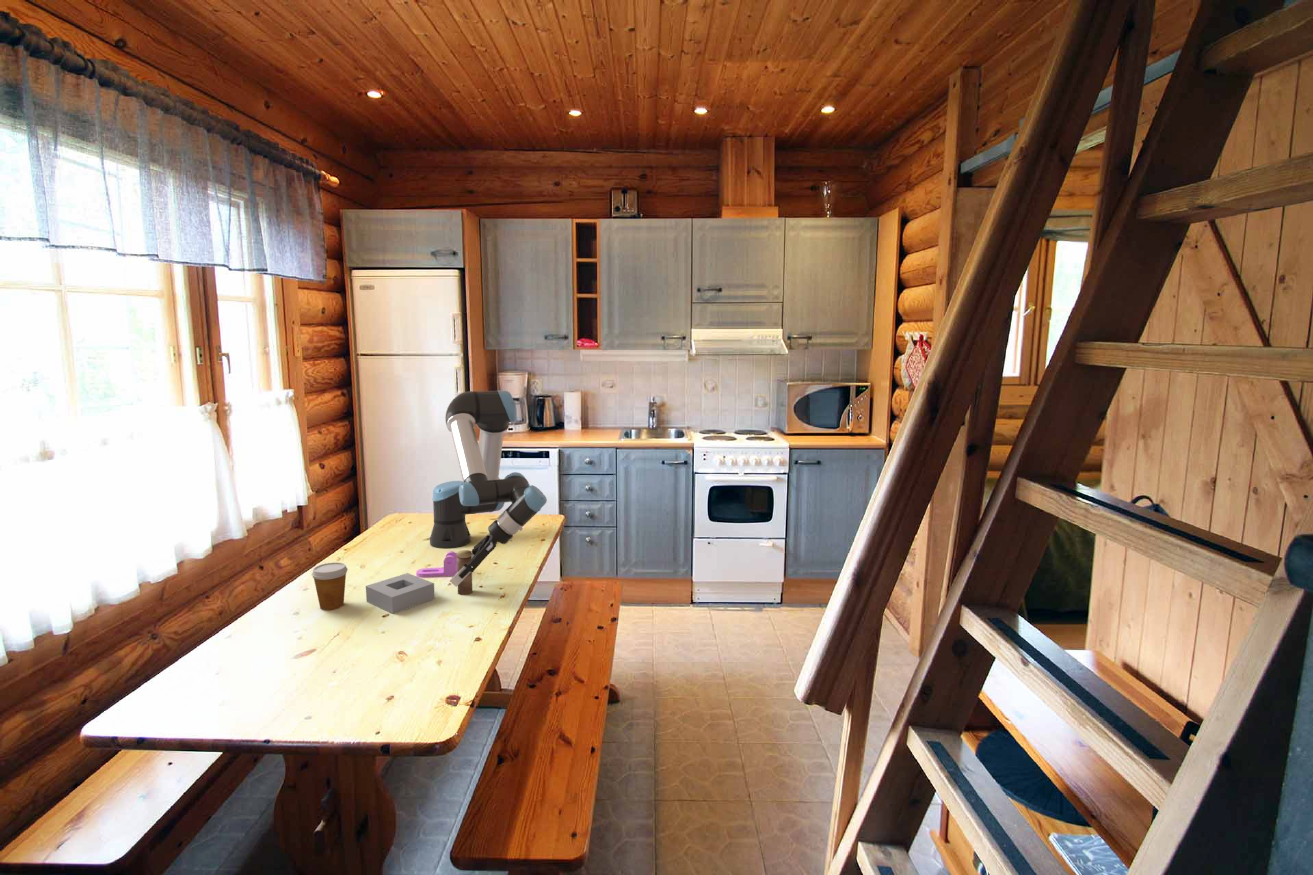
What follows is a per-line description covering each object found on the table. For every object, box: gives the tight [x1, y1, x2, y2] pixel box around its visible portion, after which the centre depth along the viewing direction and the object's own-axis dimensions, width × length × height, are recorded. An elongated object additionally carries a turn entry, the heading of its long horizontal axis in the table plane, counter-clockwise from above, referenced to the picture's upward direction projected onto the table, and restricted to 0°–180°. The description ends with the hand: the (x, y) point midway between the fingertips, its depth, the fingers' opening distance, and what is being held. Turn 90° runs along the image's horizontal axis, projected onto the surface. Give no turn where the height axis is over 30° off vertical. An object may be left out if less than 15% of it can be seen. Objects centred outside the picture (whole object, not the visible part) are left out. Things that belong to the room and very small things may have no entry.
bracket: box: [415, 551, 457, 579], centre depth 222 cm, size 13×6×7 cm, turn 99°
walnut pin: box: [455, 549, 473, 596], centre depth 206 cm, size 5×5×13 cm
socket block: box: [365, 572, 436, 615], centre depth 200 cm, size 14×14×5 cm
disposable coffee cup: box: [311, 561, 348, 611], centre depth 195 cm, size 10×10×12 cm
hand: (456, 576), depth 206 cm, fingers open, 12 cm apart
